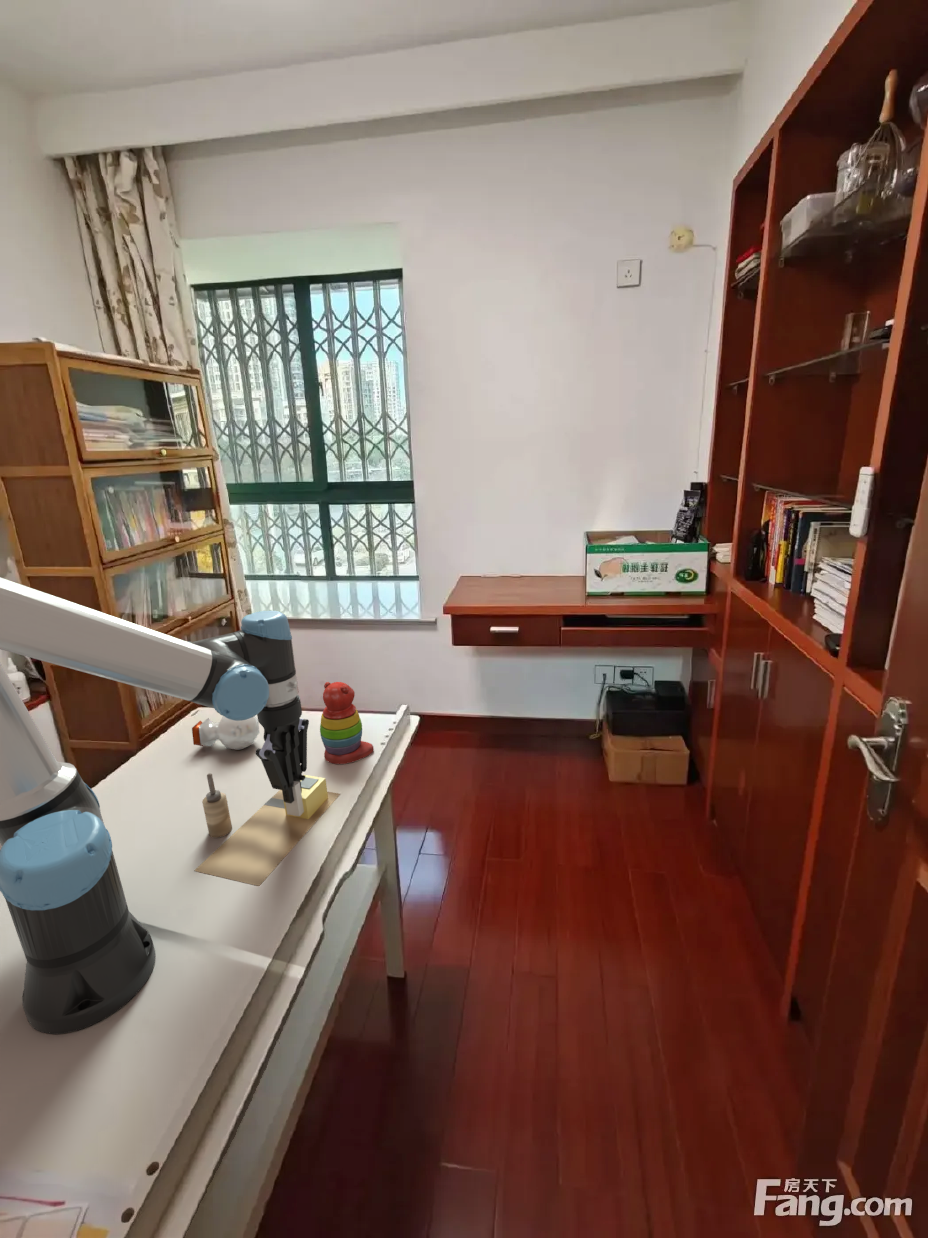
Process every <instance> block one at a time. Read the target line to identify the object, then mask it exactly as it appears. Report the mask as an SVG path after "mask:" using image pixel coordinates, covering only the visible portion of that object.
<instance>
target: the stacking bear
mask: <svg viewBox="0 0 928 1238" xmlns="http://www.w3.org/2000/svg"><path fill="white" fill-rule="evenodd" d="M323 688H324V690H323V693H322V699H323V702H324V703H323V704H324V706H325V707H324V709H323V711H322V713H321V715H320V716H321V718H320V724H319V732H320V737H321V738H320V739H321V742H322V744H323V746H324V754H323V755H324V756H323V757H324V759H325V761H327V763H329V764H334V765H346V764H351V763H355V762H358V761H360V760H362V759H365V758H366V757H368V756H369V755H371V754H372V753H373V752H374V750H375V748H374V745H373V744H372V743H370V742H367V741H364V740H362V736H363V723H362V719H361V718H360V714H359V712H358V710H357V708H356V705H354V704H353V702H354V699H355V696H356V695H355V693H356V692H355V690H354V689H353V688H352V687H351V686H349V684H348V683H345V682H342V681H334V682H332V683H331V682H329V681H326V682H325V683H324V685H323Z"/></svg>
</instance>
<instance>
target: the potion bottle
mask: <svg viewBox="0 0 928 1238" xmlns="http://www.w3.org/2000/svg"><path fill="white" fill-rule="evenodd" d="M259 725H260V723H259V722H258V717H257V716H256V717H255V716H254V717H252V718H250V719H247V720H242V721H235V720H230V719H228V718H226V717H224V716H222V717H221V719H220V721H218V722H217V721H216V722H213V721H212V720H211V718H209V717H207V718H206V719H205V720H204V721H202V720H199V721H198V722H197V723H196V724H195V725H193V726H192V727H191V734H192V742H193V745H194V746H200V747H204V746H207V747H213V746H214V744H215V743H216V742H219V741H220V743H221V744H222V745H223V746H224V747H225V748H227V749H228V750H229V749H230V750H231V749H232V750H239V751H242V750H244V749H245V748H247V747H250V746H252V745H253V744H254V743H255V741H256V740H257V738H258V735H259V734H260V726H259Z"/></svg>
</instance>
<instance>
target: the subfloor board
mask: <svg viewBox="0 0 928 1238" xmlns="http://www.w3.org/2000/svg"><path fill="white" fill-rule="evenodd" d="M327 793H328V799H327V800H326V801H325V802H324V803H323V804H322V805H321V806H320V807H319V808H318V809H317V811H316V812H315V813H314V814H313V815H312V816H311V817H310V818H309V819H304V818H299V817H294V816H289V815H286V812H285V806H284V800H283V793H282V790H279V789H278V791H277V792H276V793H274V794H273V796H272V797H271V798H269V799H268V800H267V801H266V802H265V803H264V804H263V805H262V806H261V807H260V808H259V809H258V810H257V811H256V812H255V813H254V814H253V815H252V816H251V817H250V818H248V819H247V820H246V821H245V822H244V823H243V824H242V825H240V827H239V828H238V829H237V830H235V832H234V833H233V834H232V835H230V836H229V837H228V838H227V839H226V840H225V841H224V842H223V843H221V845H219V847H218V848H216V850H214V851H213V852H212V853H211V854H210V855H209V856H208V857H206V859H205V860H204V861H203V862H202V863H200V865H198V866H197V868H195V869H194V872H197V873H201V874H204V875H209V876H210V875H211V876H215V877H218V878H222V879H226V880H227V879H228V880H232V881H235V882H239V883H244V884H248V885H252V886H256V887H260V886H261V885H262V884H263V882H264V881H266V879H267V878H268V877H269V875H271V874H272V872H273V871H275V869H276V868H277V867H278V866H279V865H280V863H282V861H283V860H284V859H285V858H286V857H287V855H288V854H290V852H291V851H292V850H293V849H294V848H295V846H296V845H297V844H298V843H299V842H300V841H301V840H302V838H303V837H304V836H305V835H306V834H307V833H308V832H309V830H310V829H311V828H312V827H313V826H314V825H315V824H316V823H317V821H319V819H320V818H321V817H322V816H323V815H324V813H326V811H327V810H328V809H329V808H330V807H331V806H332V805H333V804H334V802H335V801H336V800H337V799H338V798H339V797H340V796H341V793H339V792H333V791H327Z"/></svg>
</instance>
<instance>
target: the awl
mask: <svg viewBox="0 0 928 1238" xmlns="http://www.w3.org/2000/svg"><path fill="white" fill-rule="evenodd" d="M206 779H207V784H208V789H209V792H207V794H206V795H205V797H203V799H202V801H201V802H202V807H203V811H204V816H205V817H204V818H205V821H206V825H207V831H208V835H209V836H210V837H211V838H214V839H215V838H223V837H224V836H227V835H228V834H230V833H231V831H232V830H233V824H232V819H231V814H230V809H229V805H228V799H227V794H226V793H224V792H221V790H219V789H216V788H215V782H214V778H213V774H212V773H211V772H209V773H207V775H206Z"/></svg>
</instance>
